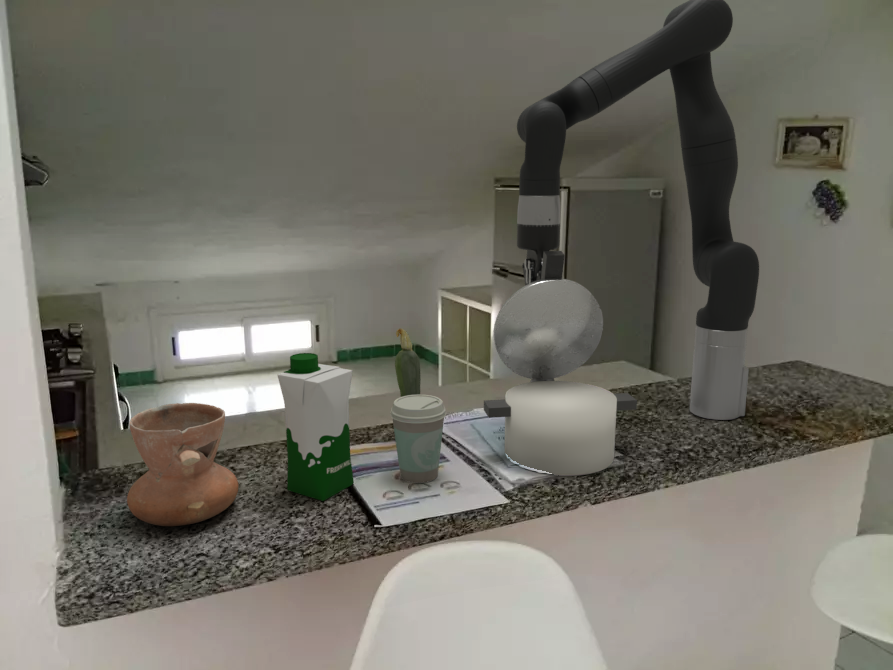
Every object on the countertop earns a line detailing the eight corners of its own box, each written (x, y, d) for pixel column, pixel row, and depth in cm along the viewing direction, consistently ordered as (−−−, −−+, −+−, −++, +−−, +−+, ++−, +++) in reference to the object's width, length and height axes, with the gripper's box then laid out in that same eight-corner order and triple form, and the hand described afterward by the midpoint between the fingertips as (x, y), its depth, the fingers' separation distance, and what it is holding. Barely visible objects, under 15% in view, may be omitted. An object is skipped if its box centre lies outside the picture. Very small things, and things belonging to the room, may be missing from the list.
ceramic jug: (253, 525, 96) (247, 423, 93) (136, 551, 89) (125, 442, 87) (224, 479, 112) (218, 390, 109) (122, 498, 105) (113, 404, 102)
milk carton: (318, 470, 114) (312, 348, 109) (363, 483, 109) (359, 355, 105) (278, 491, 106) (270, 360, 102) (324, 505, 102) (318, 369, 97)
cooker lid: (594, 388, 129) (588, 378, 132) (614, 257, 118) (607, 249, 121) (490, 393, 127) (487, 382, 130) (500, 260, 115) (496, 252, 118)
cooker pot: (609, 430, 131) (612, 377, 128) (651, 470, 113) (655, 409, 111) (475, 438, 127) (475, 384, 125) (497, 480, 110) (498, 418, 107)
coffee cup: (405, 491, 106) (403, 414, 104) (383, 470, 114) (381, 398, 111) (456, 480, 110) (456, 405, 107) (431, 460, 117) (430, 390, 115)
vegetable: (422, 434, 129) (421, 325, 125) (419, 443, 125) (418, 330, 120) (398, 433, 130) (396, 325, 125) (394, 442, 125) (392, 330, 121)
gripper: (571, 223, 121) (567, 324, 125) (548, 218, 134) (546, 310, 137) (527, 224, 120) (525, 326, 124) (509, 219, 133) (507, 311, 136)
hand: (536, 317), depth 131 cm, fingers closed
